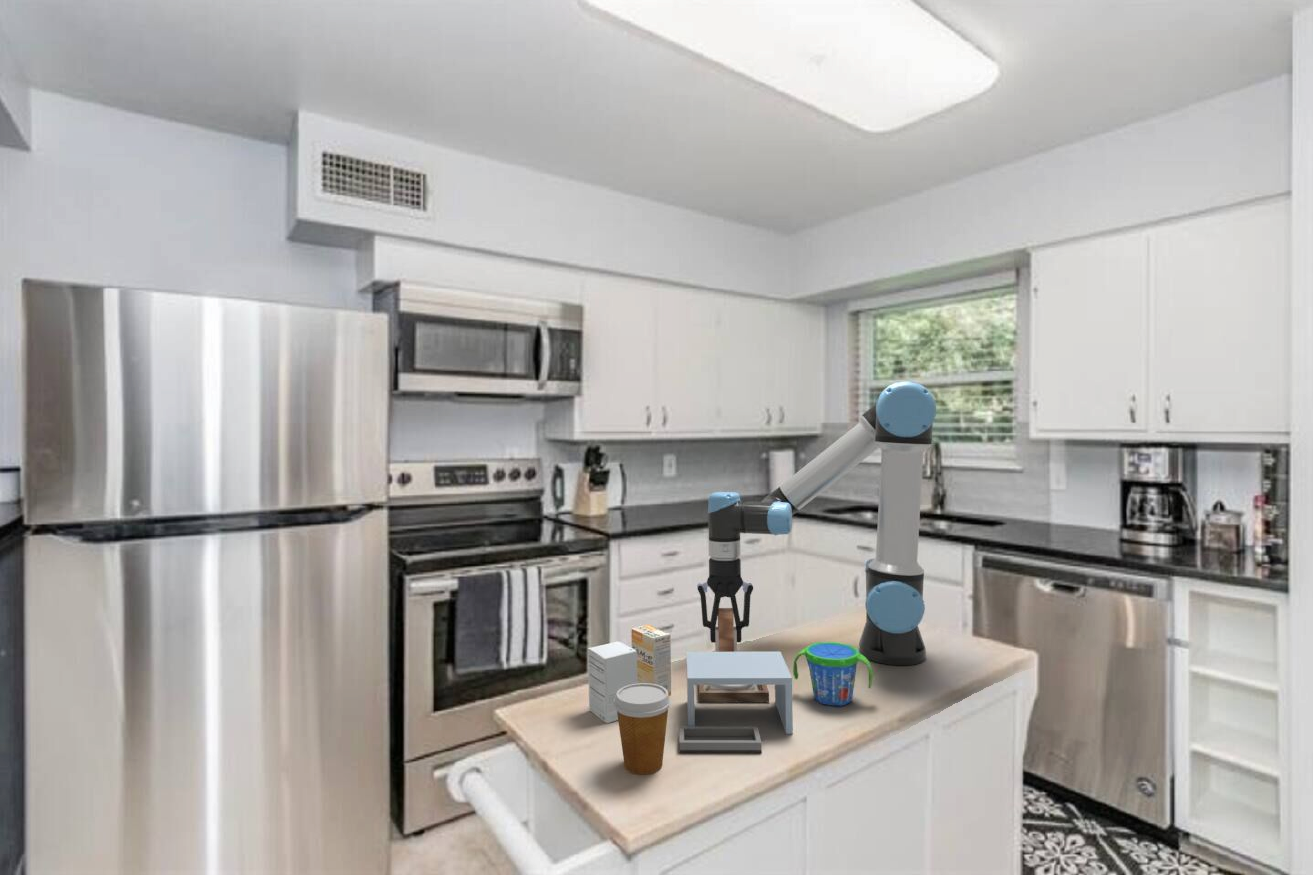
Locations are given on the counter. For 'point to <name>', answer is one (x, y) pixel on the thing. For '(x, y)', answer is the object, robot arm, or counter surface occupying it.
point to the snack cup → (832, 671)
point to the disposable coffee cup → (642, 725)
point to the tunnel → (741, 677)
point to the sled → (728, 646)
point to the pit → (720, 740)
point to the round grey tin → (731, 688)
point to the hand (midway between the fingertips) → (726, 655)
